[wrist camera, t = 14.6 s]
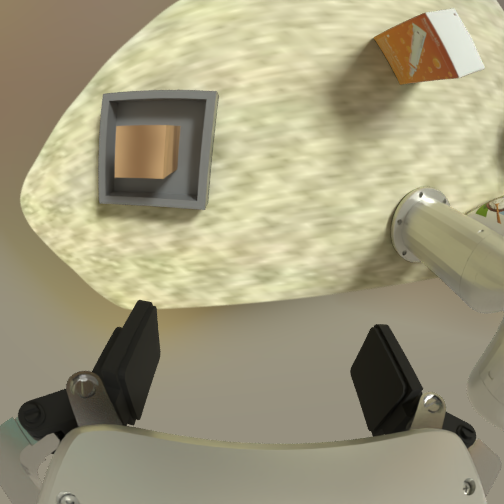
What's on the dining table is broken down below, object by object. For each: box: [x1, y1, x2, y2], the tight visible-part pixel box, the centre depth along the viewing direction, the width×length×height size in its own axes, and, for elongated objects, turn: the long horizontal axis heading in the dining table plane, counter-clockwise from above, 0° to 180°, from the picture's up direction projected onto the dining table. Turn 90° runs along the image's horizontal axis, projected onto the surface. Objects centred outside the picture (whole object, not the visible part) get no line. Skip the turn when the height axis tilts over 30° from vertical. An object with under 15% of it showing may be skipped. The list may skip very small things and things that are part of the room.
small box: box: [374, 8, 485, 85], centre depth 21 cm, size 8×6×13 cm
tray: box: [99, 90, 219, 210], centre depth 30 cm, size 14×14×4 cm
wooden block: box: [115, 125, 181, 179], centre depth 28 cm, size 6×6×7 cm
